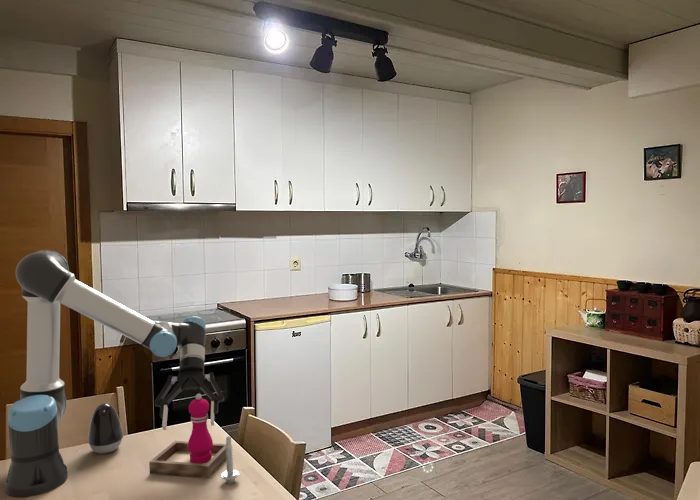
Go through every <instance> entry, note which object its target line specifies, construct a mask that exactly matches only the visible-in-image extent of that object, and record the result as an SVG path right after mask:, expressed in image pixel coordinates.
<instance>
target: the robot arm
mask: <svg viewBox="0 0 700 500" xmlns="http://www.w3.org/2000/svg"><path fill="white" fill-rule="evenodd" d="M15 278H16V282H17V283H18V284H19V286H20V287H21V297H22V298H23V299H24V300H25V301H26V302H27V317H26V318H27V326H26V380H25V382H24V383H22V384H21V386H20V391H19V392H20V393H19V394H20V395H19V397H20V399H19V400H17V401H15V402H13V403H12V404H11V405H10V406H9V408H8V410H7V411H8V412H7V424H8V436H9V437H8V438H9V447H10V449H9V450H10V465H9V468H8V472H7V477H6V479H5V484H4V485H5V489H4V490H5V493H6V494H7V495H8V496H12V497H16V496H24V497H30V496H31V495H32V496H36V495H40V494H43V493H46V492H49V491H51V490H53V489H56V488H58V487H60V486H61V485H62V484H63V483H65V482H66V480H67V479H68V477H69V475H68V474H69V473H68V467H67V465H66V464H65V463H64V458H63V457H62V455H61V452H60V442H59V429H58V428H59V424H60V422H61V419H62V418H63V415H64V414H65V411H66V410H67V409H66V408H67V398H66V393H65V381H64V380H62V379H61V378H60V354H61V353H60V349H61V347H60V344H61V343H60V342H61V341H60V340H61V305H63V306H65V307H67V308H70V309H71V310H73V311H75V312H77V313H79V314H81V315H83V316H85V317H87V318H89V319H91V320H93V321H95V322H97V323H99V324H101V325H102V326H104V327H106V328H108V329H110V330H112V331H114V332H116V333H118V334H119V335H122V336H124V337H126V338H128V339H130V340H132V341H133V342H136V343H137V344H139V345H141V346H143V347H145V348H147V349H149V350H150V351H151V352H152V353H153V354H154V356H157V357H161V358H165V357H168V356H171V355H172V354H174V352H175V350H176V349H177V347H180V357H179V369H178V370H179V371H178V375H177V376H173V375H172V374H169V375H167V378H166V379H167V380H166V382H165V384H164V385H163V387H162V389H161V390H160V392H159V393H158V395H157V396H156V398H155V399H154V401H153V403H154V406H155V407H156V408H159V417H160V419H162V421H161V422H162V424H161V427H162V430H163V431H166V430H167V426H168V423H167V422H168V412H169V408H168V406H169V404H171V402H172V401H173V400H174V399H176V397H177V396H178V395H179V394H180V393H182V392H183V391H184V390H185V391H190V390H193V391H194V390H195V391H196V390H197V389H198V388H199V390H200V391H201V392H203V393H204V394H205V395H206V396H207V397H208V398H209V399H210V425H211V426H212V427H213V426H215V414H218V413H219V403H223V402H225V395H224V394H223V392H222V390H221V388H220V386H219V385H218V383H217V381H216V379H215V374H214V372H213V371H210V372H209V373H208V374H207V373H206V374H205V359H206V355H205V354H206V339H207V338H206V335H207V330H206V329H207V327H206V325H207V324H206V321H205V320H204V318H202V317H200V316H196V315H195V316H194V315H193V316H187V317H186V318H184V319H183V321H182V322H173V321H165V320H164V321H163V320H158V319H156V320H152V319H150V318H148V317H146V316H144V315H142V314H141V313H139V312H137V311H135V310H133V309H131V308H130V307H128V306H126V305H123V304H122V303H120V302H118V301H116V300H115V299H113V298H111V297H109V296H107V295H105V294H103V293H102V292H100V291H98V290H97V289H94V288H92V287H90V286H88V285H87V284H85V283H83V282H82V281H79V280H78V279H76V276H75V273H72V272H71V271H70V268H69V264H68V261H67V260H66V258H65V257H64V256H63V255H62V254H60V253H58V252H57V251H54V250H53V251H52V250H47V249H44V250H37V251H35V252H32V253H29V254H27V255H26V256H24V257H22V258H21V259H20V261H19V262H18V263H17V265H16V267H15ZM205 380H207V381H208V382H210V384H211V386H212V388H213V390H214V392H215V393H216V395H215V394H214V393H213V391H211V390H210V388H209V387H207V385H206V384H205V383H204V381H205ZM176 382H177V384H176V386H175V387H174V388H173V389H172V390H171V388H172V386H173V385H174V384H175V383H176ZM170 390H171V391H170ZM169 391H170V392H169Z"/></svg>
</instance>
